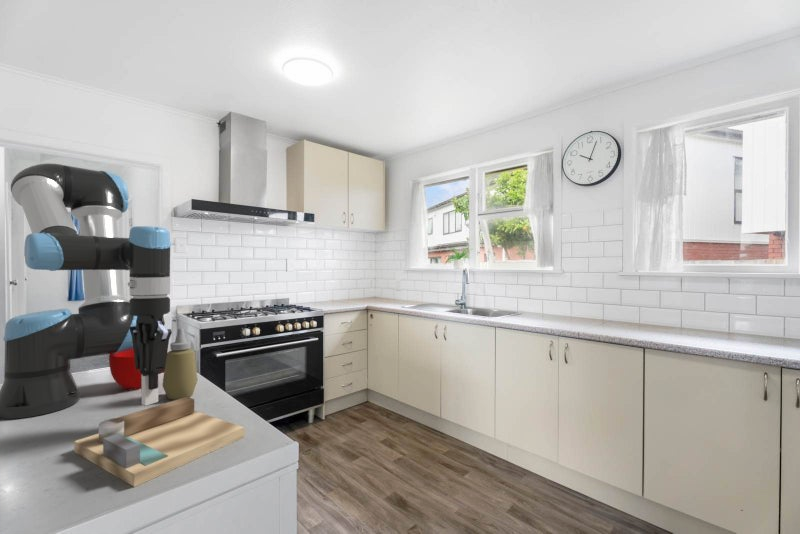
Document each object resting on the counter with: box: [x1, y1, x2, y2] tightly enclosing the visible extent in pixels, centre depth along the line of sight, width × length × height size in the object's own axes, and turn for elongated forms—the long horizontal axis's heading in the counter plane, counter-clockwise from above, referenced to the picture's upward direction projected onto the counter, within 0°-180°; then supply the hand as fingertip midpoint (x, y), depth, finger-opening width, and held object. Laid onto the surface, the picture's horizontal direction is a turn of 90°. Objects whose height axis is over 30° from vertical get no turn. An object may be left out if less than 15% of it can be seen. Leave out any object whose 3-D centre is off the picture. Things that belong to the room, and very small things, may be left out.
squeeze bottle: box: [162, 328, 198, 400], centre depth 100 cm, size 8×8×18 cm
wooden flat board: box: [73, 410, 245, 488], centre depth 73 cm, size 22×20×5 cm
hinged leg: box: [98, 397, 195, 443], centre depth 76 cm, size 17×4×3 cm, turn 150°
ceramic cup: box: [108, 349, 164, 390], centre depth 109 cm, size 13×17×10 cm
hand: (150, 402), depth 83 cm, fingers closed
